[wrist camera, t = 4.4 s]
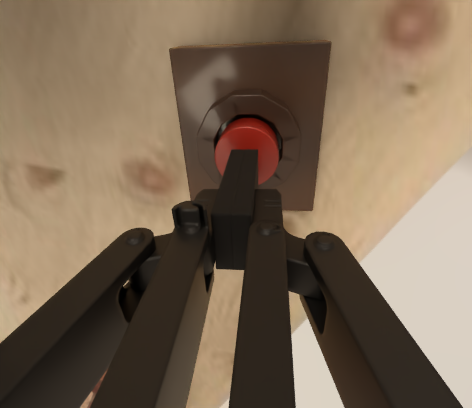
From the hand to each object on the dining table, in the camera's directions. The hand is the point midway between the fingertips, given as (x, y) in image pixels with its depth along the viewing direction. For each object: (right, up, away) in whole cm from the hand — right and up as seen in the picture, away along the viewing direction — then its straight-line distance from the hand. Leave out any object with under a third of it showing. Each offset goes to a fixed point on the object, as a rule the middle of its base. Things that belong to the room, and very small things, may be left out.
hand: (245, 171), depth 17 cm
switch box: (+1, +4, +6) cm, 7 cm away
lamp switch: (0, +2, +3) cm, 4 cm away
